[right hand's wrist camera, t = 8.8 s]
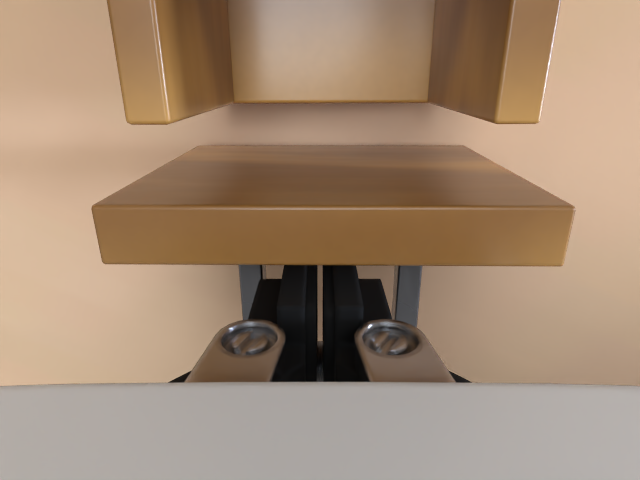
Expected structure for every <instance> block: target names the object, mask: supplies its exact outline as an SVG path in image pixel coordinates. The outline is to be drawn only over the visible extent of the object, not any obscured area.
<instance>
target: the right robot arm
mask: <svg viewBox="0 0 640 480" xmlns="http://www.w3.org/2000/svg"><path fill="white" fill-rule="evenodd" d="M0 480H640V386H626V385H588V384H551V383H472V382H470V381H468V380H466V379H464V378H462V377H460V376H458V375H456V374H454V373H452V372H450V371H448V370H447V368H446V367H445V365H444V364H443V362H442V361H441V359H440V358H439V356H438V355H437V353H436V352H435V350H434V349H433V347H432V346H431V344H430V343H429V341H428V340H427V338H426V337H425V335H424V334H423V333H422V332H421V331H420V330H419V329H418V328H416V327H414V326H413V325H411V324H408V323H405V322H403V321H398V320H392V316H391V313H390V310H389V306H388V303H387V299H386V296H385V292H384V289H383V286H382V282H381V280H380V279H358V274H357V269H356V265H323V382H317V265H284V270H283V275H282V279H260V280H259V283H258V286H257V290H256V293H255V296H254V300H253V303H252V307H251V310H250V313H249V317H248V320H242V321H237V322H235V323H232V324H229V325H227V326H226V327H224V328H222V329H221V330H220V331H219V332H218V333H217V334H216V335H215V337H214V338H213V340H212V341H211V343H210V344H209V346H208V347H207V349H206V350H205V352H204V353H203V355H202V356H201V358H200V359H199V361H198V362H197V364H196V365H195V367H194V368H193V370H192V371H190V372H188V373H186V374H184V375H182V376H180V377H178V378H176V379H174V380H172V381H170V382H168V383H100V384H50V385H17V386H0Z"/></svg>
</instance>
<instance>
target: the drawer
mask: <svg viewBox="0 0 640 480" xmlns="http://www.w3.org/2000/svg"><path fill="white" fill-rule="evenodd" d="M560 3H561V0H107V4H108V10H109V16H110V23H111V29H112V35H113V41H114V47H115V54H116V60H117V66H118V72H119V78H120V85H121V91H122V97H123V103H124V109H125V115H126V121H127V123H129V124H132V125H167V124H170V123H173V122H177V121H180V120H183V119H186V118H189V117H192V116H195V115H198V114H201V113H204V112H207V111H211V110H214V109H217V108H220V107H223V106H226V105H229V104H232V103H431V104H434V105H438V106H441V107H444V108H447V109H450V110H454V111H457V112H460V113H463V114H466V115H470V116H473V117H476V118H479V119H483V120H486V121H489V122H492V123H495V124H536V123H538V122H539V121H540V117H541V112H542V106H543V100H544V95H545V89H546V83H547V77H548V72H549V66H550V60H551V55H552V49H553V43H554V37H555V32H556V26H557V20H558V15H559V9H560ZM92 214H93V219H94V224H95V229H96V233H97V238H98V243H99V248H100V253H101V258H102V262H103V263H104V264H192V265H239V276H240V289H241V301H242V314H243V320H248V317H249V313H250V310H251V307H252V303H253V300H254V296H255V293H256V290H257V286H258V283H259V280H260V279H266V265H394V266H395V270H394V286H393V301H392V320H398V321H403V322H405V323H408V324H411V325H413V326H414V327H416V328H417V319H418V308H419V297H420V286H421V274H422V266H562V265H563V264H564V260H565V255H566V251H567V246H568V241H569V237H570V232H571V228H572V223H573V219H574V214H575V207H574V206H573V205H571V204H569V203H567V202H565V201H564V200H562V199H560V198H558V197H556V196H554V195H553V194H551V193H549V192H547V191H545V190H544V189H542V188H540V187H538V186H536V185H534V184H533V183H531V182H529V181H527V180H525V179H524V178H522V177H520V176H518V175H516V174H514V173H513V172H511V171H509V170H507V169H505V168H503V167H502V166H500V165H498V164H496V163H494V162H493V161H491V160H489V159H487V158H485V157H483V156H482V155H480V154H478V153H476V152H474V151H473V150H471V149H469V148H467V147H465V146H197V147H196V148H194V149H192V150H190V151H188V152H187V153H185V154H183V155H181V156H180V157H178V158H176V159H174V160H172V161H171V162H169V163H167V164H165V165H164V166H162V167H160V168H158V169H156V170H155V171H153V172H151V173H149V174H148V175H146V176H144V177H142V178H140V179H139V180H137V181H135V182H133V183H132V184H130V185H128V186H126V187H124V188H123V189H121V190H119V191H117V192H116V193H114V194H112V195H110V196H108V197H107V198H105V199H103V200H101V201H100V202H98V203H96V204H94V205H92ZM317 382H323V341H317Z"/></svg>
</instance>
